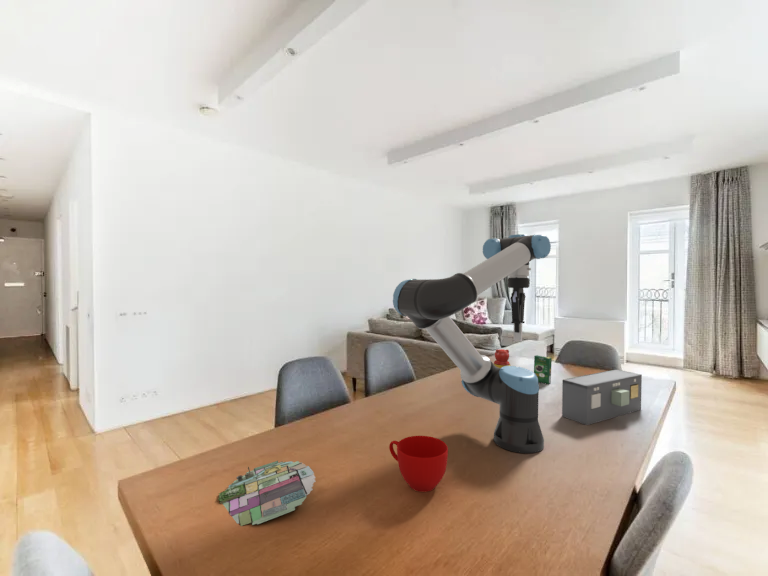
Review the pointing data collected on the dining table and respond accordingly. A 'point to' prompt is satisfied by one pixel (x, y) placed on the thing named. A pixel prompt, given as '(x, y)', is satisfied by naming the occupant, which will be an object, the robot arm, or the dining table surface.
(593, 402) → the white button
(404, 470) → the ceramic cup
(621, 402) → the sage button
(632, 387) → the brass button
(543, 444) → the robot arm
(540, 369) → the coffee box
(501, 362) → the stacking bear
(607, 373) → the button console
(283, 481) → the city model
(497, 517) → the dining table surface
